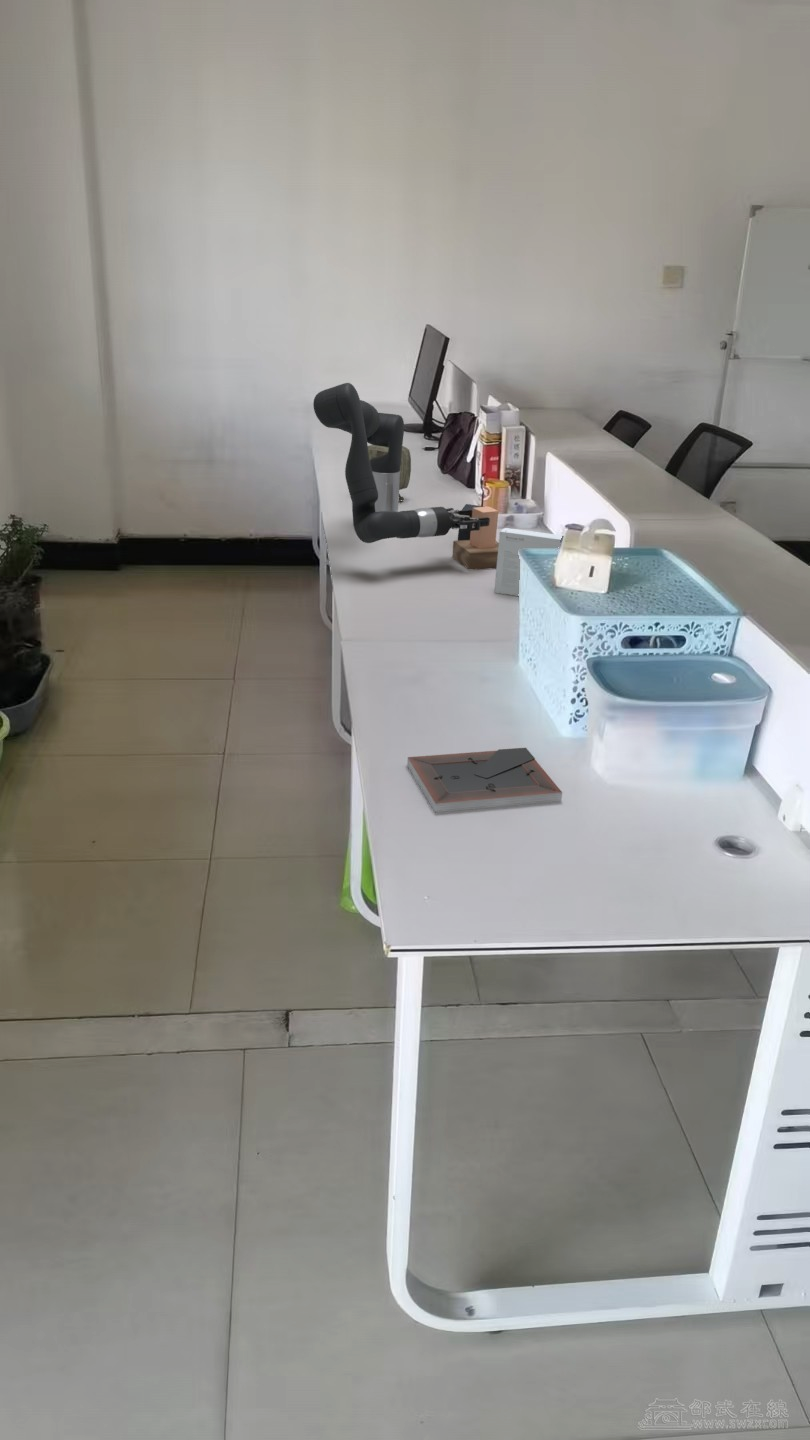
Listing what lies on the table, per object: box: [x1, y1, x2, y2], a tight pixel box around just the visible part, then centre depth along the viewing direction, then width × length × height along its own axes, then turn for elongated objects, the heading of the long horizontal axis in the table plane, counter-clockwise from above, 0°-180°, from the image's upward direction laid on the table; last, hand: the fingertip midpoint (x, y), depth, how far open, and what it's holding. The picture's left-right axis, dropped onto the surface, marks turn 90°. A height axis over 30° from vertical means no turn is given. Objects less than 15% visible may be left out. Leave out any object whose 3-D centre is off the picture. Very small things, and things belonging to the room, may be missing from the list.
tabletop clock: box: [368, 444, 412, 500], centre depth 355 cm, size 14×9×25 cm, turn 58°
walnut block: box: [451, 540, 499, 570], centre depth 302 cm, size 12×12×5 cm
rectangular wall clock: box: [406, 747, 563, 813], centre depth 184 cm, size 16×2×22 cm
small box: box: [456, 503, 485, 541], centre depth 316 cm, size 11×6×10 cm, turn 168°
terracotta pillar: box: [470, 506, 499, 549], centre depth 299 cm, size 5×5×10 cm
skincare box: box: [493, 527, 564, 597], centre depth 275 cm, size 21×6×16 cm, turn 71°
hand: (479, 517), depth 297 cm, fingers open, 8 cm apart
